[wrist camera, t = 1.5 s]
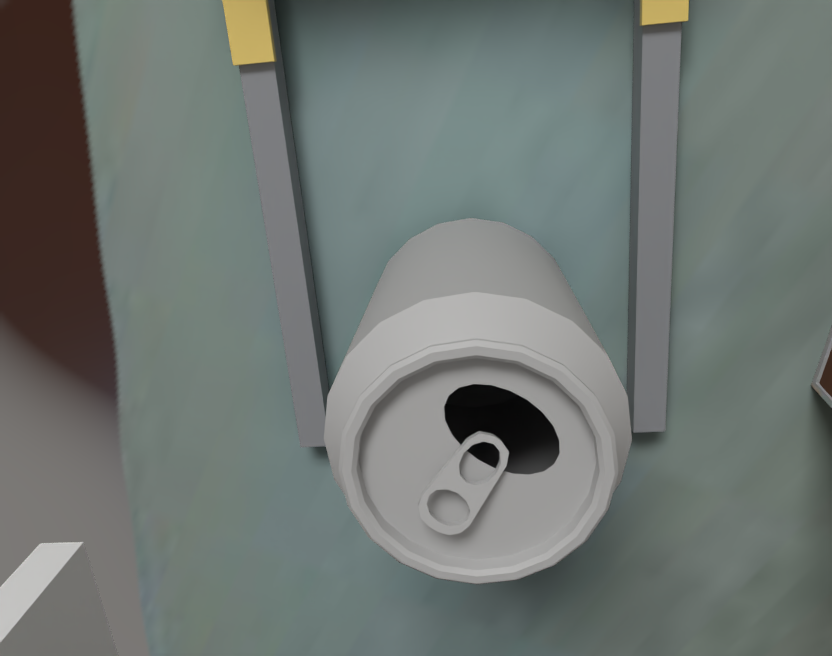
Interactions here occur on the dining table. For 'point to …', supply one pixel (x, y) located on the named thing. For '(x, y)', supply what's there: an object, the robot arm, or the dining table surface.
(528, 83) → the dining table surface
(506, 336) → the can
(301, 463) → the dining table surface
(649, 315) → the guide channel
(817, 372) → the food container
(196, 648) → the dining table surface
